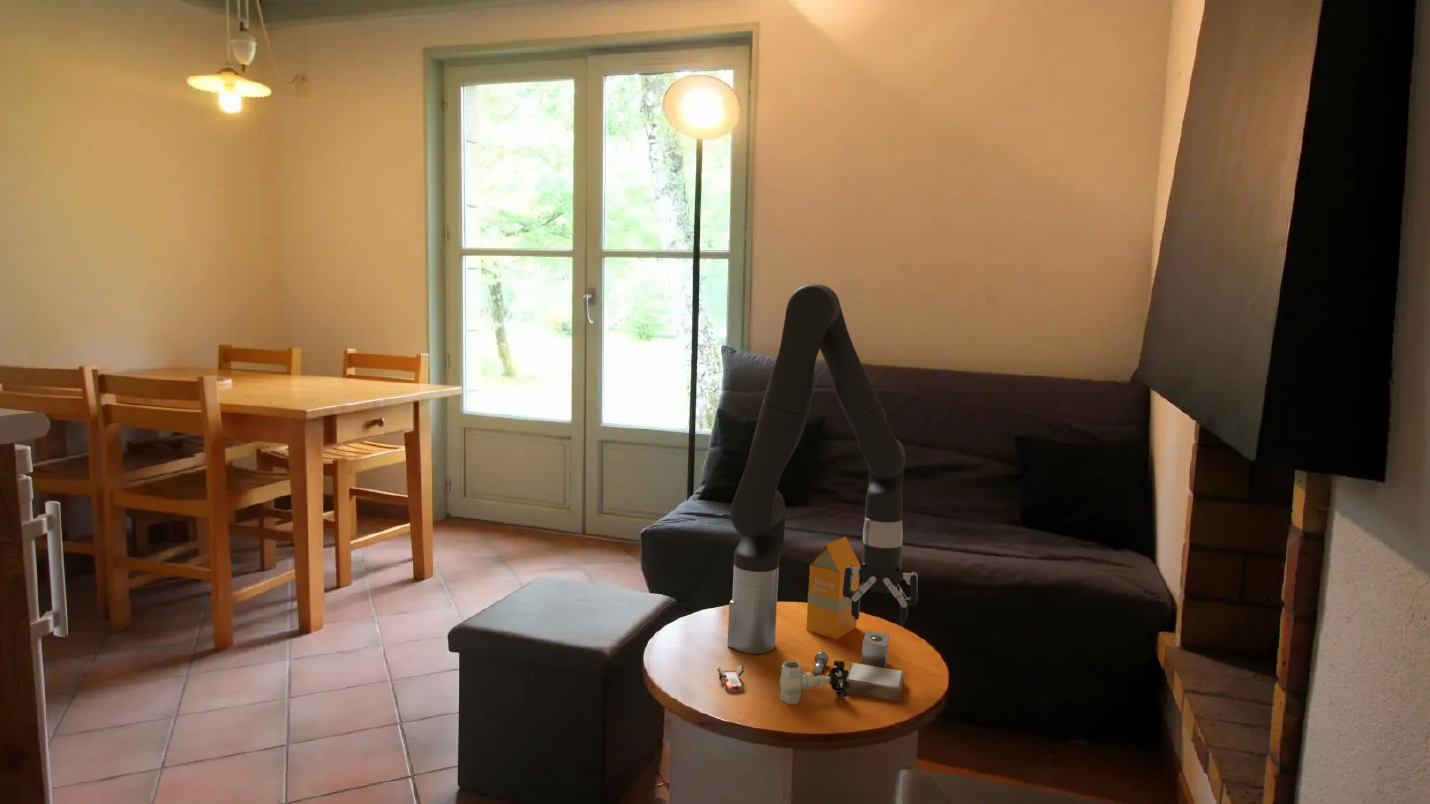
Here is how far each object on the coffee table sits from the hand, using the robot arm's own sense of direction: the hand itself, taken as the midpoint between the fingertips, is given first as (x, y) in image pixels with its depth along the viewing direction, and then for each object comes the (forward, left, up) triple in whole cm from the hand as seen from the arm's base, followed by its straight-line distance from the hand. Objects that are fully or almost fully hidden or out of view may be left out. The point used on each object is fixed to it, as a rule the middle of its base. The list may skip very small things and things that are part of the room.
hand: (878, 621), depth 166 cm
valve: (-10, -17, -10) cm, 22 cm away
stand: (+1, -9, -10) cm, 13 cm away
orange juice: (-11, +16, -10) cm, 22 cm away
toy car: (-25, -16, -10) cm, 32 cm away
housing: (0, 0, -10) cm, 10 cm away
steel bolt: (-10, -6, -10) cm, 15 cm away
